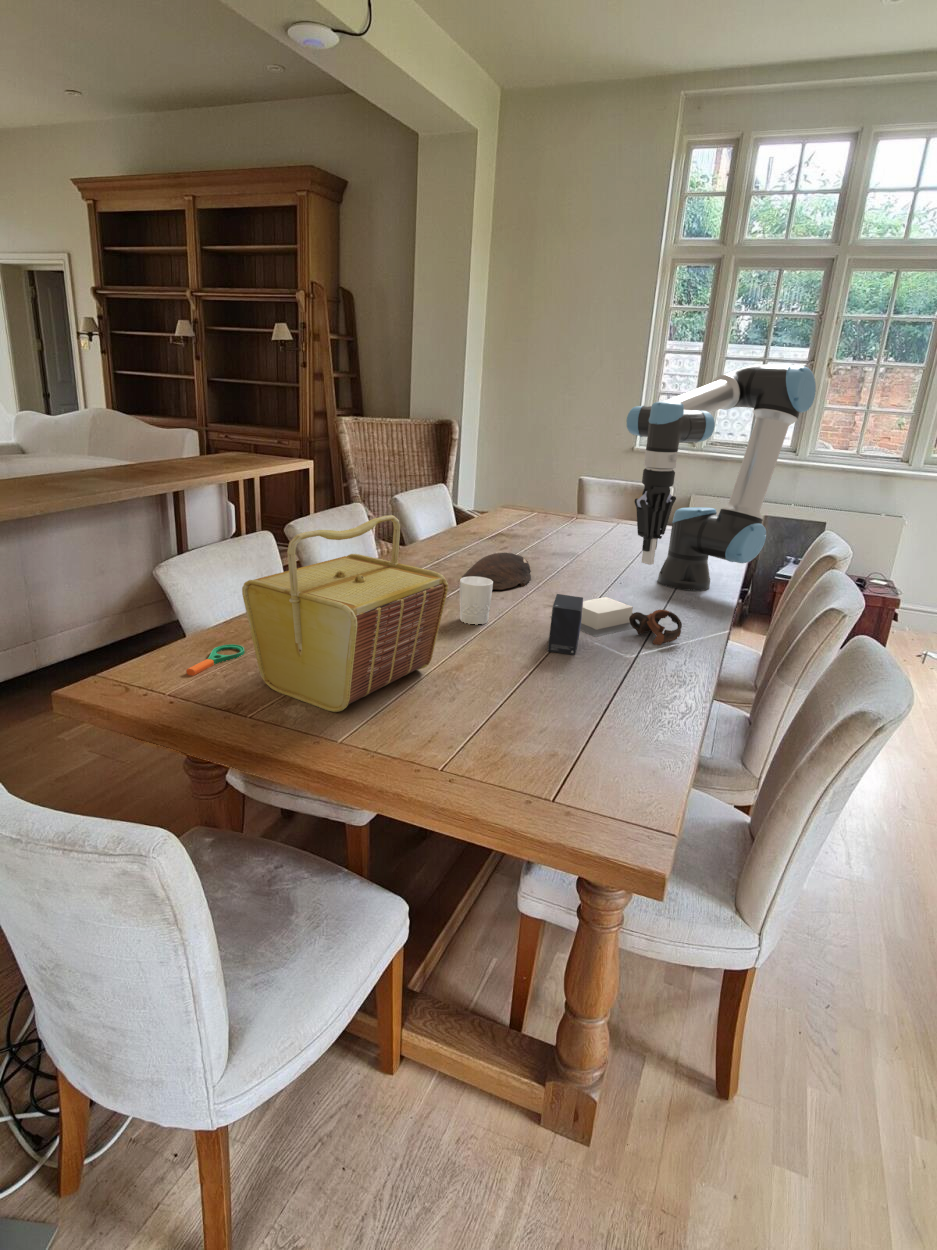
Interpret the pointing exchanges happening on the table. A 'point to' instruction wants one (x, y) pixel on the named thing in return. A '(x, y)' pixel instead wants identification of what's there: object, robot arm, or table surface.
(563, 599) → the small box
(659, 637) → the brown curved piece
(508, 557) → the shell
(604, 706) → the table surface
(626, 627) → the mat
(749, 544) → the robot arm
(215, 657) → the magnifying glass
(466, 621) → the white cup
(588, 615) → the tall block
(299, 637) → the picnic basket
